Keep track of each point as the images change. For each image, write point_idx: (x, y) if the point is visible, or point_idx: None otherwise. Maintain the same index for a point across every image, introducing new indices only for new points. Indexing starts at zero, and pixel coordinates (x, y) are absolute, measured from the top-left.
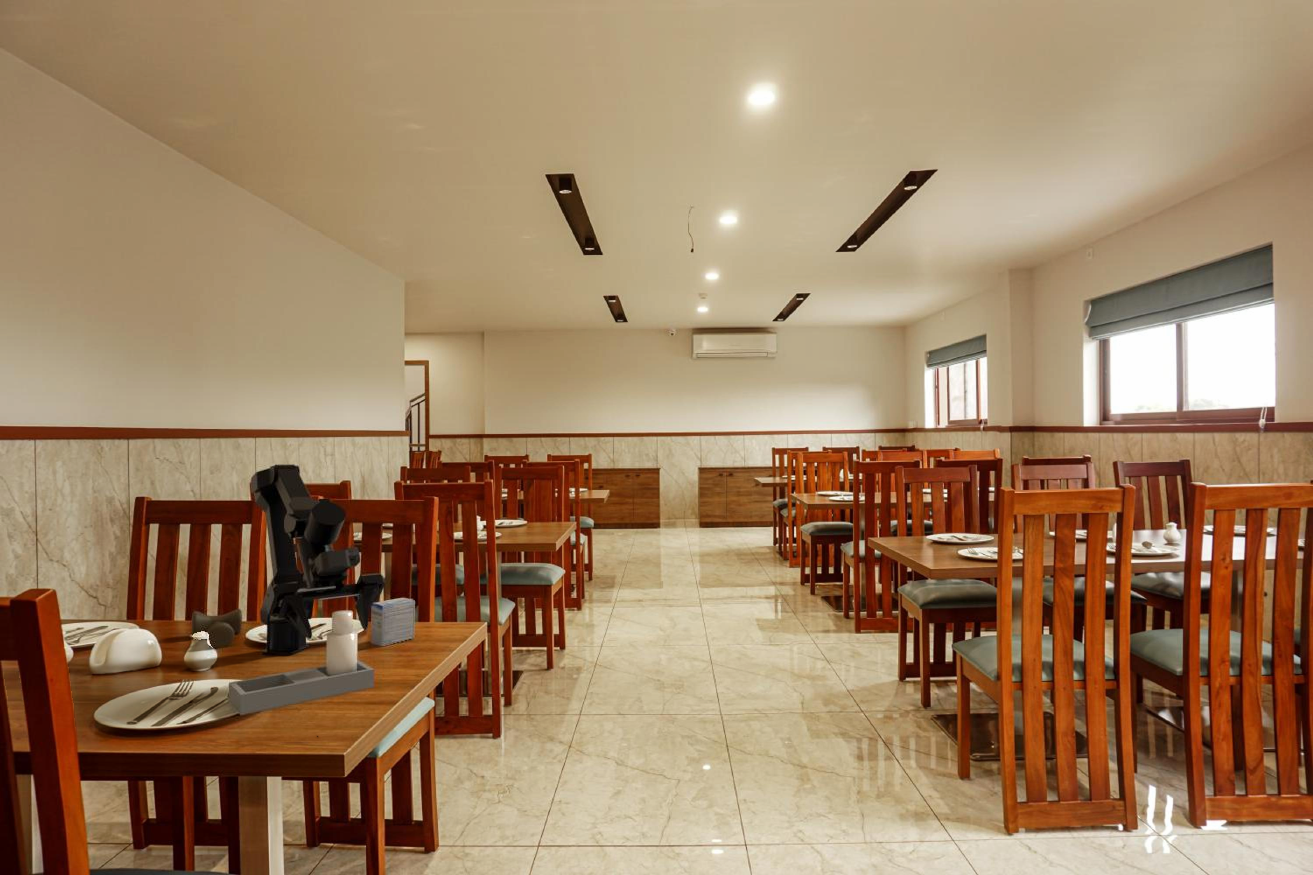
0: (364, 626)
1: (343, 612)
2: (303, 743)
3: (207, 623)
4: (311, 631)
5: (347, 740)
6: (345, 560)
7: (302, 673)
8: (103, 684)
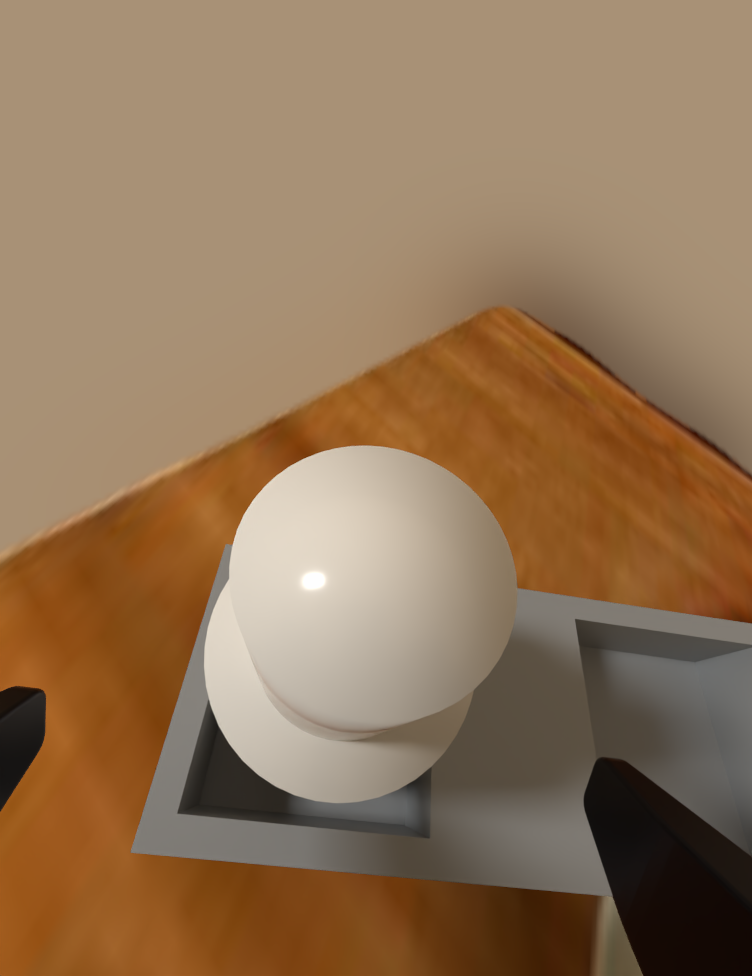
0: (27, 727)
1: (371, 546)
2: (554, 375)
3: None
4: (623, 781)
5: (479, 331)
6: None
7: (519, 769)
8: None
